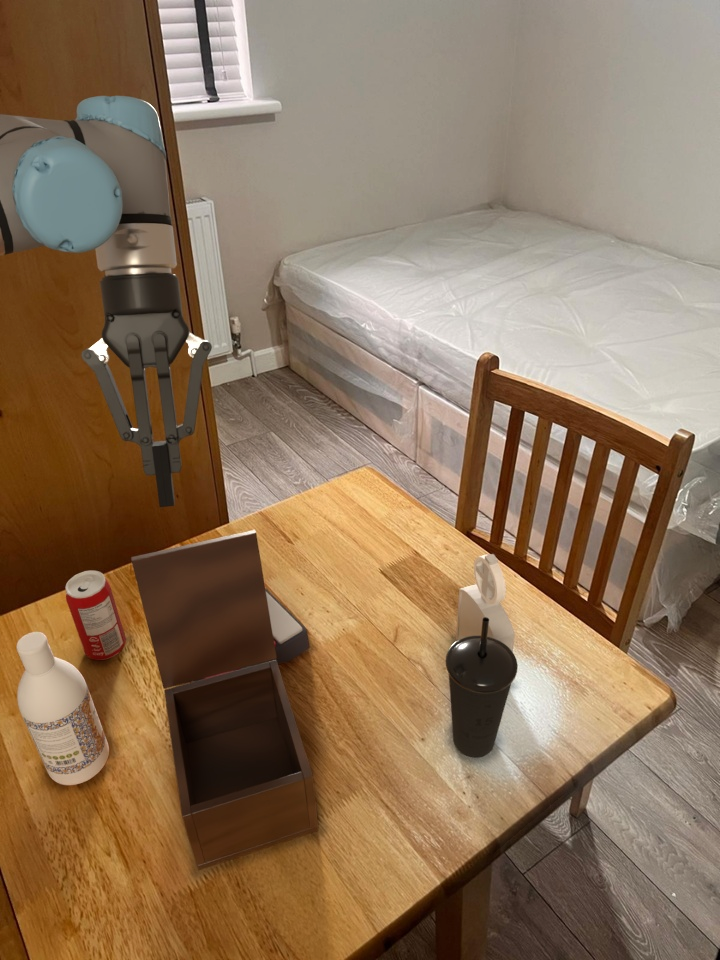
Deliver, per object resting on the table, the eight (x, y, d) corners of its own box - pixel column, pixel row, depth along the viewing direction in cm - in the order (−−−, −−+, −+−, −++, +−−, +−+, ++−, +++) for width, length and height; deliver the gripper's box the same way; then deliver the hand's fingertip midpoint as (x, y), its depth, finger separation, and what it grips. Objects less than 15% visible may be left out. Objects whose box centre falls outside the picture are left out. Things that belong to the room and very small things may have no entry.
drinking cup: (430, 724, 88) (435, 604, 77) (486, 705, 90) (500, 585, 79) (459, 778, 82) (470, 656, 71) (518, 756, 84) (538, 634, 73)
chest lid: (256, 532, 77) (254, 529, 77) (131, 560, 73) (131, 556, 74) (276, 658, 84) (275, 654, 84) (163, 689, 80) (162, 684, 81)
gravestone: (473, 634, 100) (483, 531, 90) (507, 685, 93) (522, 580, 82) (455, 639, 99) (462, 537, 89) (488, 692, 92) (500, 586, 82)
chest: (318, 830, 78) (312, 775, 72) (197, 871, 74) (182, 816, 69) (283, 714, 90) (276, 659, 84) (178, 744, 87) (163, 689, 81)
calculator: (166, 636, 96) (263, 582, 103) (174, 658, 98) (267, 603, 105) (207, 688, 89) (307, 626, 96) (213, 710, 91) (311, 647, 98)
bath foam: (116, 770, 84) (73, 650, 73) (54, 798, 81) (-1, 679, 70) (102, 726, 89) (59, 608, 78) (43, 751, 86) (-10, 632, 75)
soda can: (101, 627, 103) (80, 563, 96) (134, 636, 101) (116, 572, 94) (76, 656, 98) (53, 591, 92) (111, 666, 97) (89, 601, 90)
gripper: (62, 274, 67) (99, 520, 73) (206, 268, 70) (230, 505, 75) (75, 278, 74) (107, 501, 80) (205, 272, 77) (227, 488, 82)
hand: (167, 503), depth 78 cm, fingers closed
